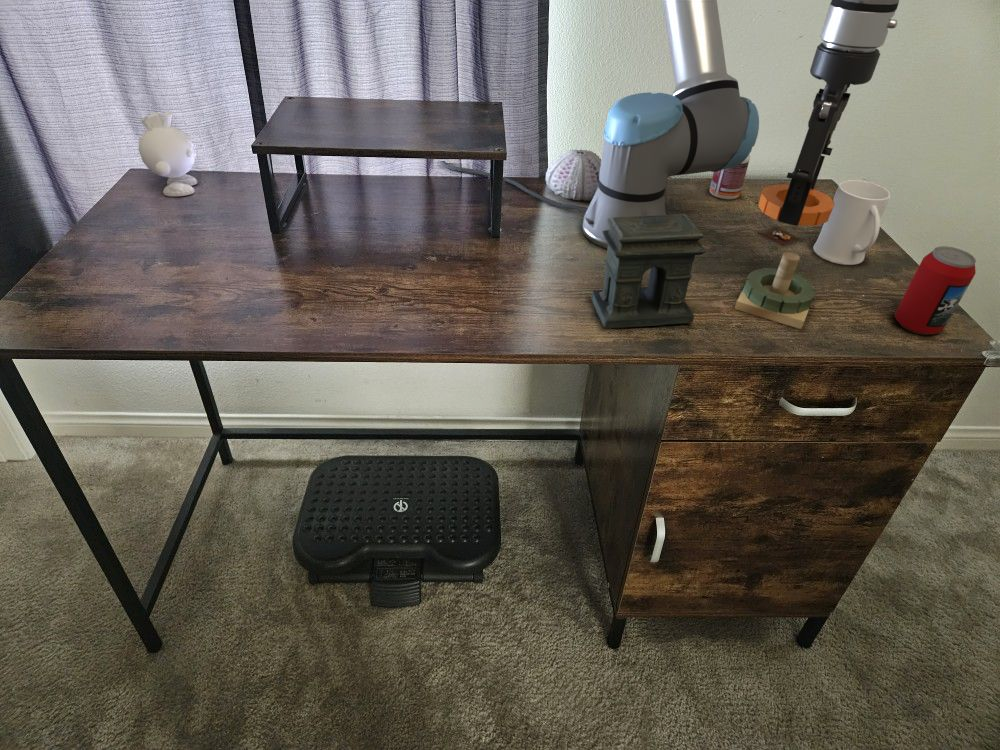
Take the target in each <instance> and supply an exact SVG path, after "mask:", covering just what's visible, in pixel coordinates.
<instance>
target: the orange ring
mask: <svg viewBox="0 0 1000 750" xmlns="http://www.w3.org/2000/svg"><path fill="white" fill-rule="evenodd" d="M789 185H790V183H789V184H788V183H787V184H785V183H778V184H773V185H769V186H765V187H764V188H763V190H762V191H761V193H760V197H759V200H758V203H757V206H758V208H759V209H760V212H762V213H763V214H764V215H766V216H767V217H770V218H771V219H774V220H776V221H778V219H779V216H780V213H781V210H782V207H783V204H784V200H785V197H786V194H787V191H788V188H789ZM834 204H835V203H834V201H833V198H831V196H830V195H827V194H826V193H824V192H821V191H819V190H818V189H815V188H814V189H813V190H811V189H810V191H809V194H808V197H807V200H806V203H805V206H804V209H803V212H802V214H801V217H800V220H799V223H798V225H797V226H804V227H805V226H806V227H807V226H809V227H810V226H812V227H813V226H814V227H815V226H819V225H822V224H824V223H826V222H828V220H829V217H830V215H831V212H832V209H833V207H834Z"/></svg>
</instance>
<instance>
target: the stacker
mask: <svg viewBox="0 0 1000 750" xmlns="http://www.w3.org/2000/svg"><path fill="white" fill-rule="evenodd" d="M800 258H801V257H800V255H798V254H797V253H794V252H791V251H790V252H788V251H787V252H783V253H782V255H781V259H780V262H779V265H778V267H777V268H772V267H768V268H767V267H763V268H759V269H755V270H753V271H751V272H749V274H748V275H747V277H746V279H745V282H744V285H743V286H744V287H743V289H742V291H741V292H740V294H739V296H738V298H737V300H736V302H735V305H734V310H737V311H740V312H744V313H746V314H750V315H753V316H756V317H760V318H763V319H766V320H769V321H773V322H776V323H778V324H782V325H785V326H788V327H793V328H795V329H799V330H802V329H803V325H804V323H805V321H806V318H807V316H808V313H809V310H810V309H811V305H812V303H813V301H814V298H815V296H816V293H817V291H816V288H815V286H814V285H813V284H812V282H811V281H809V280H808V279H807V278H805V277H803V276H801V275H800V274H798V273H797V274H795V272H796V270H797V268H798V264H799V261H800Z"/></svg>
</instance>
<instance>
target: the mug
mask: <svg viewBox="0 0 1000 750" xmlns="http://www.w3.org/2000/svg"><path fill="white" fill-rule="evenodd" d="M891 195H892V194H891V192H890V191H889V190H888V189H887V188H886V187H884V186H882V185H879V184H877V183H875V182H871V181H867V180H866V181H865V180H860V179H846V180H842V181H840V182H839V183H838V186H837V188H836V191H835V193H834V196H833V198H832V200H833V201H834V203H835V204H834V207H833V209H832V212H831V215H830V217H829V220H828V222H826V223H823V225H822V227H821V229H820V232H819V234H818V237H817V239H816V241H815V243H814V244H813V247H812V249H813V252H814V253H815V254H816V255H817V256H818V257H820V258H821V259H823V260H825V261H828V262H829V263H830V262H831V263H833V264H837V265H843V266H855V265H859V264H861V263H863V262H864V260H865V258H866V253H867V252H868V251H869V250H870V249H871V248H873V246H874V245H875V243H876V241H877V239H878V237H879V234H880V230H881V229H880V228H881V218H882V217H883V215H884V212H885V210H886V207H887V205H888V203H889V200H890V199H891Z"/></svg>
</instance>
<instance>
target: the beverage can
mask: <svg viewBox="0 0 1000 750" xmlns="http://www.w3.org/2000/svg"><path fill="white" fill-rule="evenodd" d="M976 262H977V260H976V258H975V257H974V255H972V254H971V253H969V252H967V251H966V250H963V249H960V248H956V247H953V246H945V245H943V246H937V247H935V248H933V250H932V251H930V252H929V253H928V254H926V255H925V256H924V257H922V260H921V261H920V263H919V265H918V267H917V269H916V271H915V273H914V275H913V277H912V279H911V281H910V283H909V285H908V286H907V288H906V291H905V292H904V294H903V297H902V298H901V301H900V302H899V304H898V307H897V308H896V311H895V312H894V317H895V319H896V322H898V323H899V324H900V326H902V327H903V328H904V329H905V330H907V331H909V332H911V333H913V334H918V335H924V336H925V335H936V334H939V333H941V332H942V331H943V330H944V328H945V327H946V325H947V324H948V322H949V321H950V319H951V317H952V315H953V314H954V312H955V310H956V308H957V307H958V305H959V303H960V302H961V300H962V299H963V296H964V295H965V293H966V291H967V290H968V288H969V286H970V285H971V283H972V281H973V279H974V277H975V275H976V274H977V273H976V271H977V270H976Z"/></svg>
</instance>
